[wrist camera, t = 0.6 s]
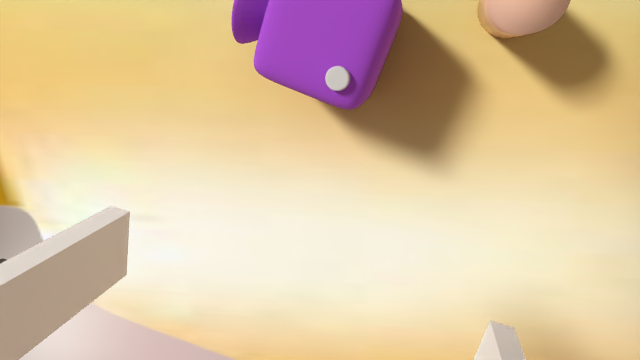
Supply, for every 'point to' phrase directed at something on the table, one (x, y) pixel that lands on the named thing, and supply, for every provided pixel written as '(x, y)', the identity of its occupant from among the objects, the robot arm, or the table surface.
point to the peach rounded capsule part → (519, 16)
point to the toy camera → (320, 44)
